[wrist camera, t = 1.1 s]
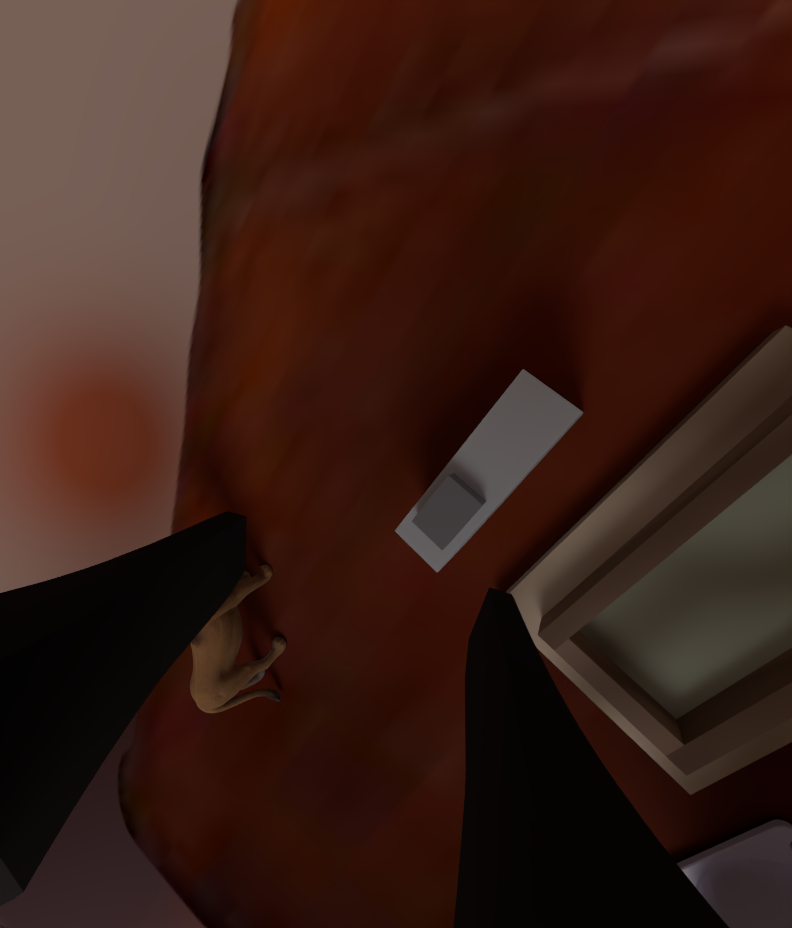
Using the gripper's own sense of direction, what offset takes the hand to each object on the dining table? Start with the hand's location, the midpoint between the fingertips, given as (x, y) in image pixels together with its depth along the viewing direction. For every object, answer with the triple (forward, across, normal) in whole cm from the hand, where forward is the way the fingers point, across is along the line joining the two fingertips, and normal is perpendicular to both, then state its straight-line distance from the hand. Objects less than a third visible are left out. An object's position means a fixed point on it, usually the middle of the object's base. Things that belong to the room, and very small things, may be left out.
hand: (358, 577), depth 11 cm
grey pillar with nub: (+12, -5, +1) cm, 13 cm away
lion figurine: (+13, +10, +19) cm, 25 cm away
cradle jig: (+9, -16, +2) cm, 18 cm away
